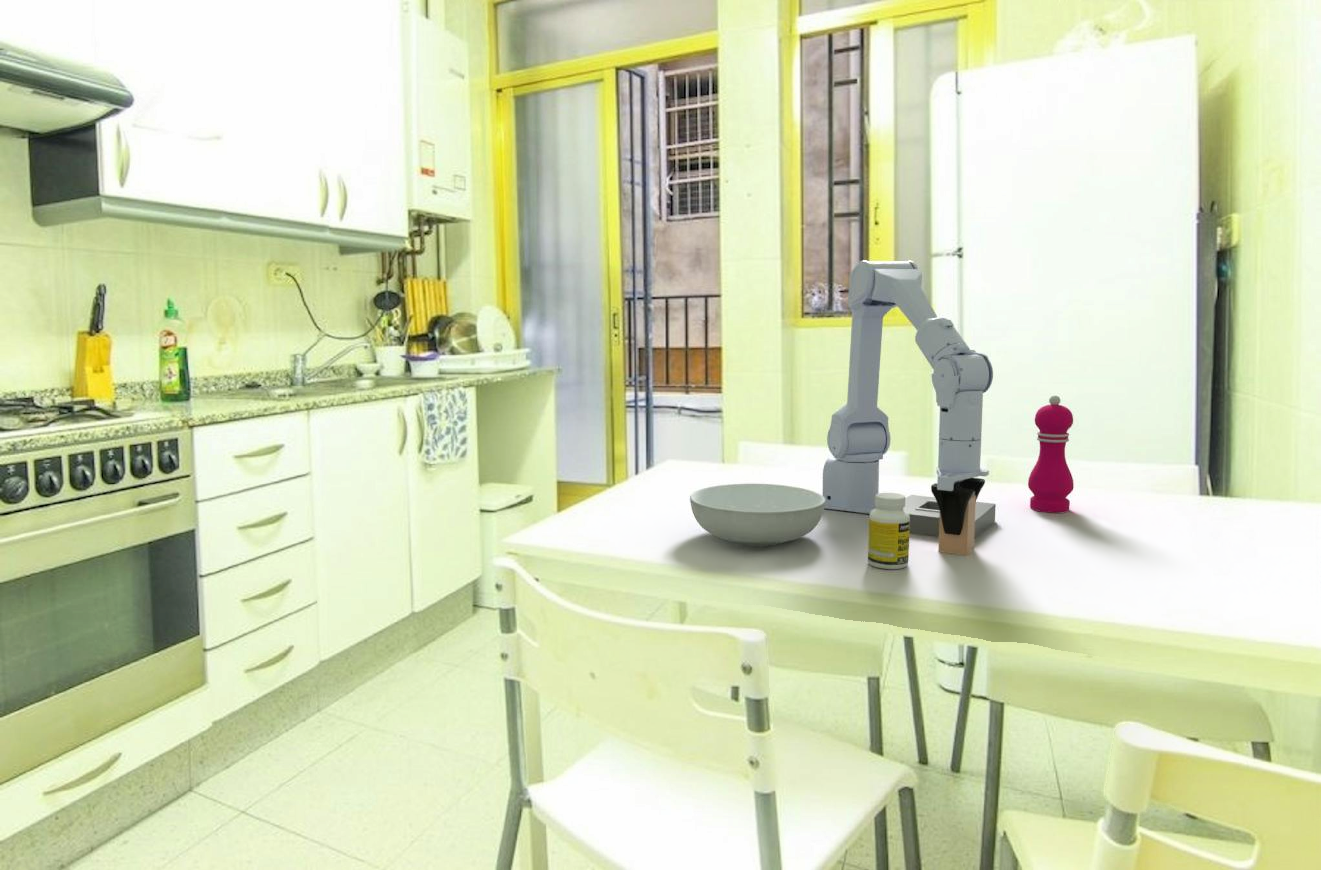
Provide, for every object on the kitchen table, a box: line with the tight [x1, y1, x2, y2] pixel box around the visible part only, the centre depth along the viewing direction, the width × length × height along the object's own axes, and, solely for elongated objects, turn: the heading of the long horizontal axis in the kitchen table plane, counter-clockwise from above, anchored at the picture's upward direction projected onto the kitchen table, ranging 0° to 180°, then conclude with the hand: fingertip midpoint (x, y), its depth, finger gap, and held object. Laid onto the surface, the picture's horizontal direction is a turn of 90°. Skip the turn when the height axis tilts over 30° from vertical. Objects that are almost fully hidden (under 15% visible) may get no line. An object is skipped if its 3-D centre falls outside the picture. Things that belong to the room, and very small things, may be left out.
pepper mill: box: [1027, 395, 1074, 514], centre depth 141 cm, size 7×7×20 cm
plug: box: [938, 491, 977, 556], centre depth 118 cm, size 4×4×9 cm
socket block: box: [903, 494, 997, 541], centre depth 133 cm, size 14×14×3 cm
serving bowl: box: [689, 483, 826, 547], centre depth 127 cm, size 21×21×7 cm
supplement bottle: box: [867, 492, 910, 570], centre depth 112 cm, size 5×5×10 cm
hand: (956, 530), depth 118 cm, fingers closed on plug, 4 cm apart
